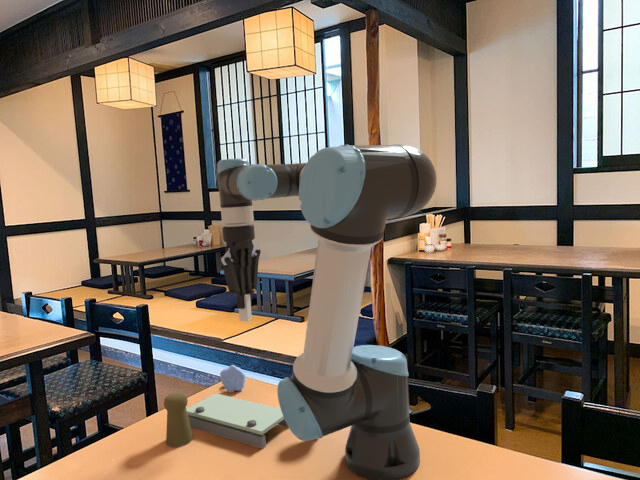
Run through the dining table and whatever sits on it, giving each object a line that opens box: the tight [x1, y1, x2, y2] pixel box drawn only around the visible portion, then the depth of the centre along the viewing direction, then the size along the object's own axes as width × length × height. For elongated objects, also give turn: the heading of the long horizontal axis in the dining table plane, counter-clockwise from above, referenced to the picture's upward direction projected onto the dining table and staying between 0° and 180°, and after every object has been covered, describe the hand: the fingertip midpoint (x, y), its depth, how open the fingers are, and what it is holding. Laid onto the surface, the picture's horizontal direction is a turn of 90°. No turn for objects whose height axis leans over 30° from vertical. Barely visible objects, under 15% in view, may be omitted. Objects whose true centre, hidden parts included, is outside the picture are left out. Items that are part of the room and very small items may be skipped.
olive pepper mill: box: [163, 391, 194, 448], centre depth 113 cm, size 6×6×11 cm
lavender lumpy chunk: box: [219, 364, 246, 393], centre depth 141 cm, size 8×7×7 cm
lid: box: [186, 392, 284, 435], centre depth 119 cm, size 24×11×1 cm, turn 59°
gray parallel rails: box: [188, 415, 289, 449], centre depth 119 cm, size 24×11×2 cm, turn 59°
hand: (245, 320), depth 121 cm, fingers closed
